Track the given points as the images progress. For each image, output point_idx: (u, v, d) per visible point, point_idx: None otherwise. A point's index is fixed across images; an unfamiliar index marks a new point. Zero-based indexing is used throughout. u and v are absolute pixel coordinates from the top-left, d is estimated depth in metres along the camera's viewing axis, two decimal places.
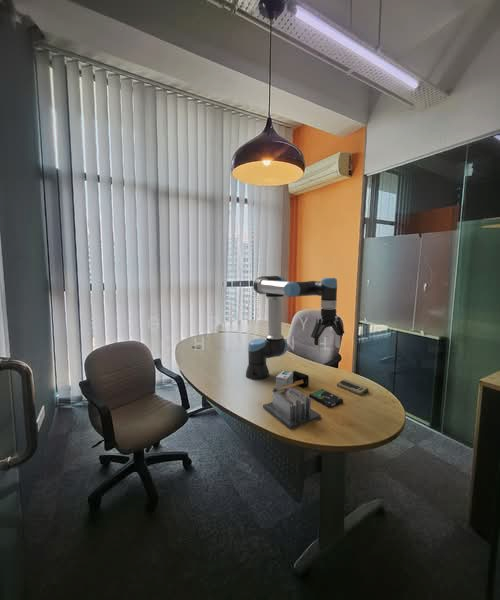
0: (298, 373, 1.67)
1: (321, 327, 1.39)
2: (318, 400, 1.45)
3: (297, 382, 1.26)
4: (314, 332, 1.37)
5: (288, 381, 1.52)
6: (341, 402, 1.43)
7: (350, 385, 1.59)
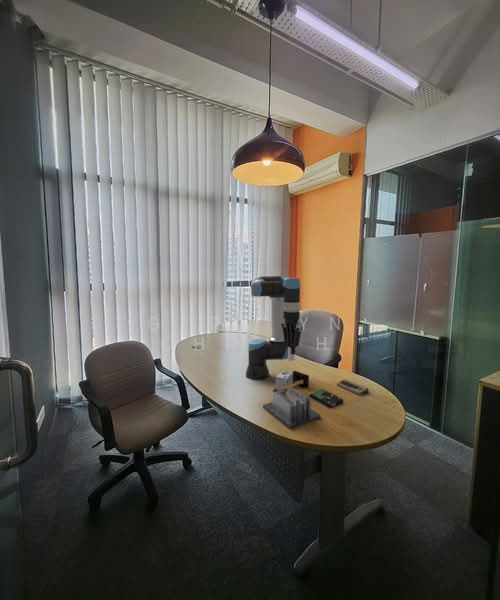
0: (298, 373, 1.67)
1: None
2: (318, 400, 1.45)
3: (297, 382, 1.26)
4: None
5: (288, 381, 1.52)
6: (341, 402, 1.43)
7: (350, 385, 1.60)
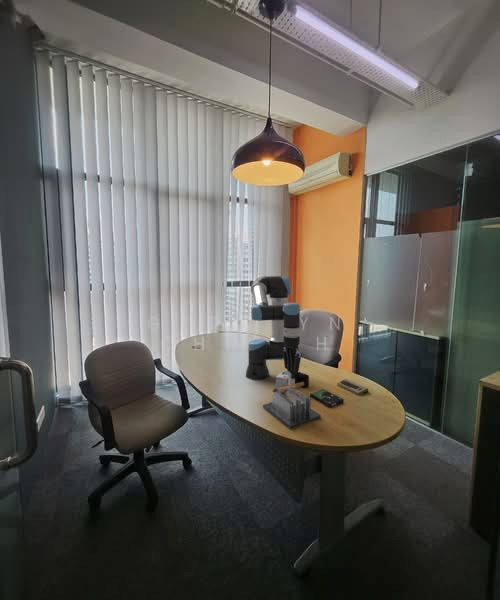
0: (298, 373, 1.67)
1: None
2: (318, 400, 1.45)
3: (298, 384, 1.26)
4: None
5: None
6: (342, 402, 1.43)
7: (350, 385, 1.60)
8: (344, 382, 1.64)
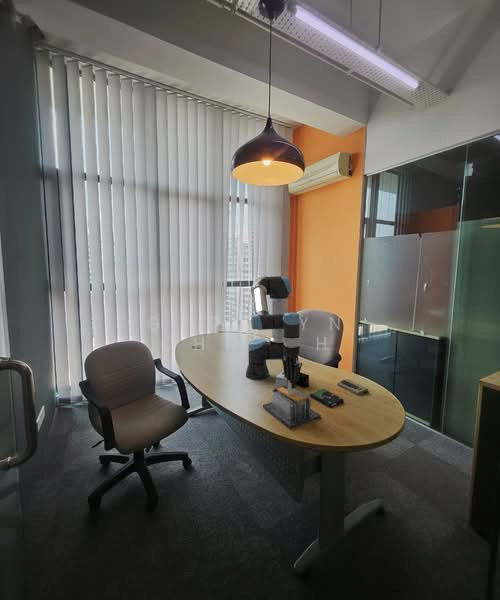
0: None
1: None
2: (319, 400, 1.45)
3: (301, 401, 1.25)
4: None
5: None
6: (342, 402, 1.43)
7: (350, 385, 1.60)
8: (344, 382, 1.64)
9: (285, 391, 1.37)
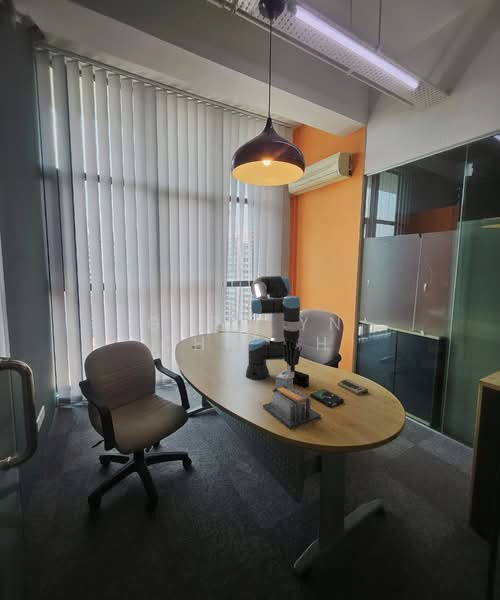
0: (298, 373, 1.67)
1: None
2: (319, 400, 1.45)
3: (301, 401, 1.25)
4: None
5: (288, 381, 1.52)
6: (342, 402, 1.43)
7: (350, 385, 1.60)
8: (344, 382, 1.64)
9: (285, 391, 1.37)
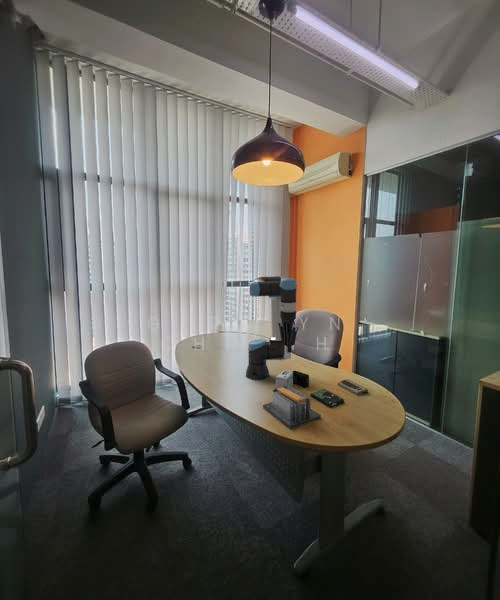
0: (298, 373, 1.67)
1: None
2: (319, 400, 1.45)
3: (301, 401, 1.25)
4: None
5: (288, 381, 1.52)
6: (342, 402, 1.43)
7: (350, 385, 1.60)
8: (345, 382, 1.64)
9: (285, 391, 1.37)
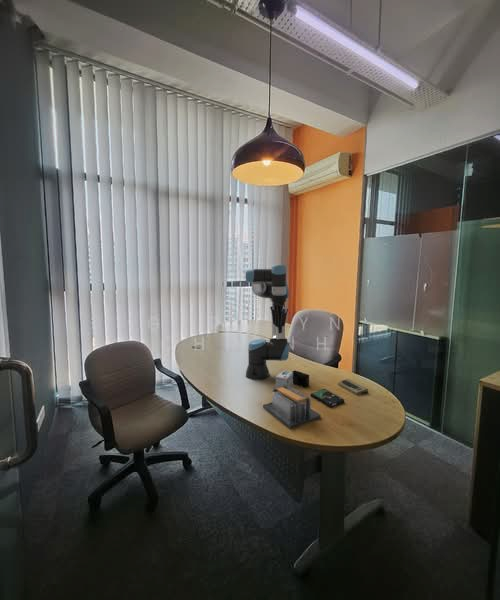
0: (298, 372, 1.67)
1: None
2: (319, 400, 1.45)
3: (301, 401, 1.25)
4: None
5: (288, 381, 1.52)
6: (342, 402, 1.43)
7: (350, 385, 1.60)
8: (345, 382, 1.64)
9: (285, 391, 1.37)
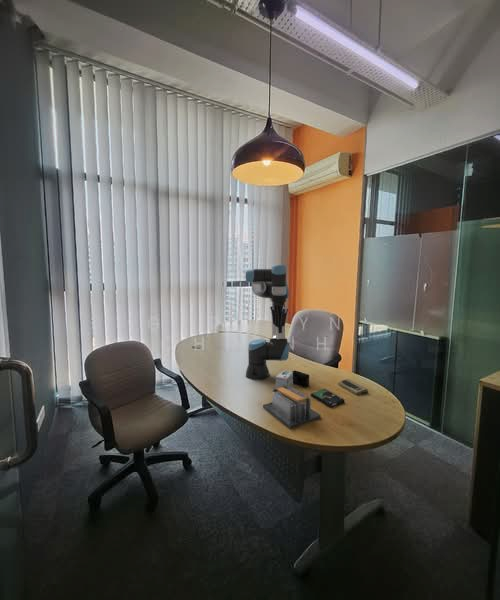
0: (298, 372, 1.67)
1: None
2: (319, 399, 1.45)
3: (301, 401, 1.25)
4: None
5: (288, 381, 1.52)
6: (342, 402, 1.43)
7: (350, 385, 1.60)
8: (345, 382, 1.64)
9: (285, 391, 1.37)
